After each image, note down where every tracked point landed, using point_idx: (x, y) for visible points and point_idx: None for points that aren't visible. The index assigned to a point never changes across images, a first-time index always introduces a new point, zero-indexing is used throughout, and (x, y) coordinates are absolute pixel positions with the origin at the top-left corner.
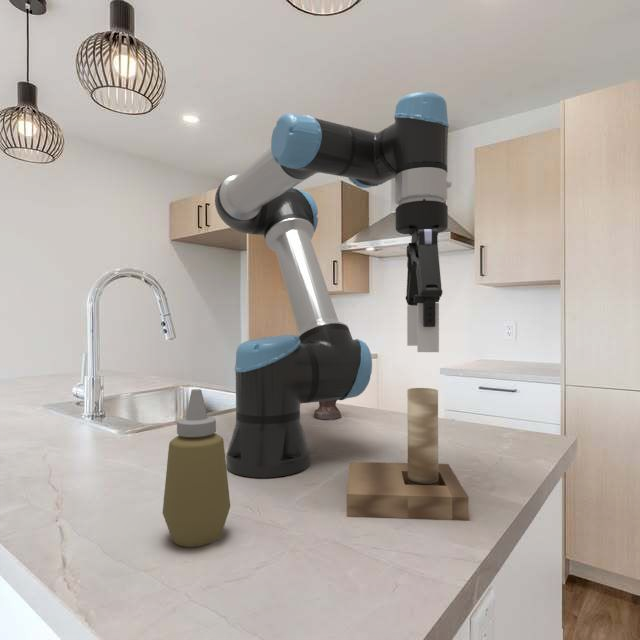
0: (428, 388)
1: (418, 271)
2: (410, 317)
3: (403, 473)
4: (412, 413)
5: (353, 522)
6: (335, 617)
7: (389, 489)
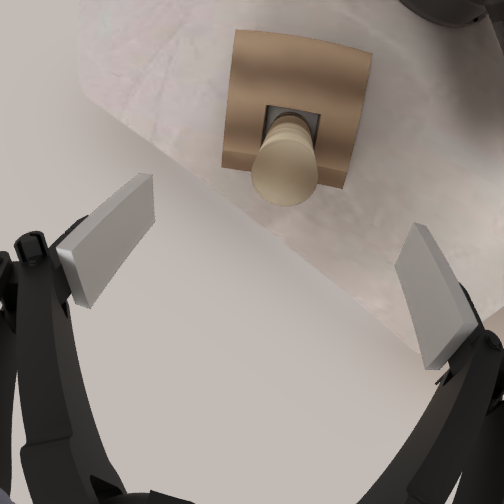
0: (307, 196)
1: (19, 375)
2: (441, 292)
3: (320, 116)
4: (270, 138)
5: (225, 39)
6: (89, 41)
7: (248, 81)
